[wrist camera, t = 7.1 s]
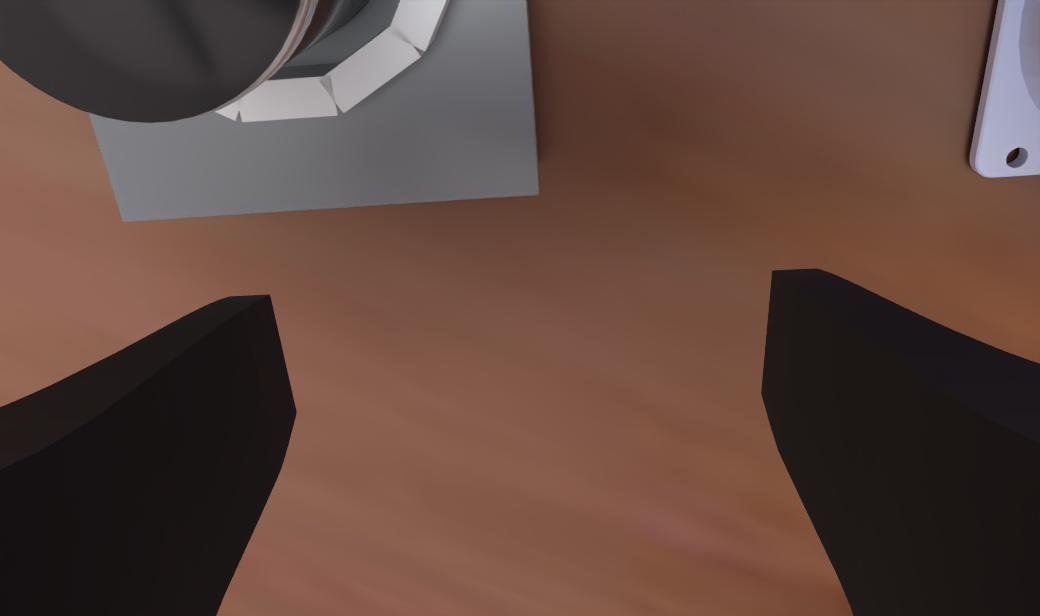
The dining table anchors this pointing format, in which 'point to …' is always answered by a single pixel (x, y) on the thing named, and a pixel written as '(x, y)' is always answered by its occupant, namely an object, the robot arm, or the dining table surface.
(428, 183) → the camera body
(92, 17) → the lens
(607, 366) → the dining table surface
